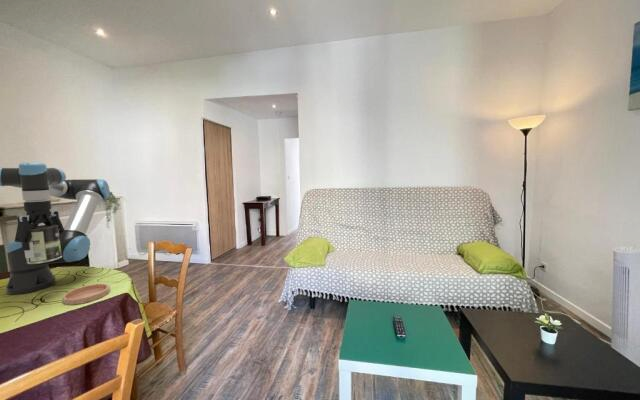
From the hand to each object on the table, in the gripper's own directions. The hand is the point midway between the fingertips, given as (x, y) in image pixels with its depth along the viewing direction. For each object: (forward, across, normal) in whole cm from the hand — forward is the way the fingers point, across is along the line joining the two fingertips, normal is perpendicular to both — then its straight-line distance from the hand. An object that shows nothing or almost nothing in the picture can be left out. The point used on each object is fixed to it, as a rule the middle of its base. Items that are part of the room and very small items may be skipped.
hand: (44, 253), depth 107 cm
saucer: (+19, 0, +16) cm, 25 cm away
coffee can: (+3, 0, 0) cm, 3 cm away
